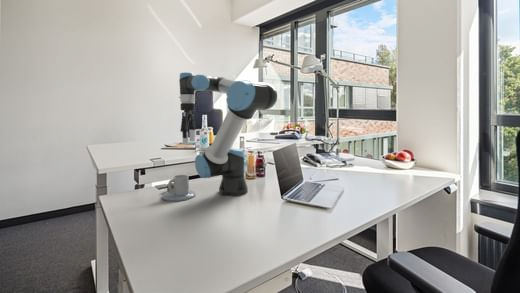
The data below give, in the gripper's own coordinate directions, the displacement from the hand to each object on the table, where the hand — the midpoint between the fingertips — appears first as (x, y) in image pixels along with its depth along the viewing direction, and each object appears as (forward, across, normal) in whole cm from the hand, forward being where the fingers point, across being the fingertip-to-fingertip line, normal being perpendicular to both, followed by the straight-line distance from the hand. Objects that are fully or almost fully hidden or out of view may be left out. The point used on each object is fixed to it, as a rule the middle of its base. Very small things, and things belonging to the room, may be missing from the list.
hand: (189, 142), depth 153 cm
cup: (+24, +14, -2) cm, 28 cm away
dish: (+26, +13, -2) cm, 29 cm away
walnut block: (+26, +5, -9) cm, 28 cm away
